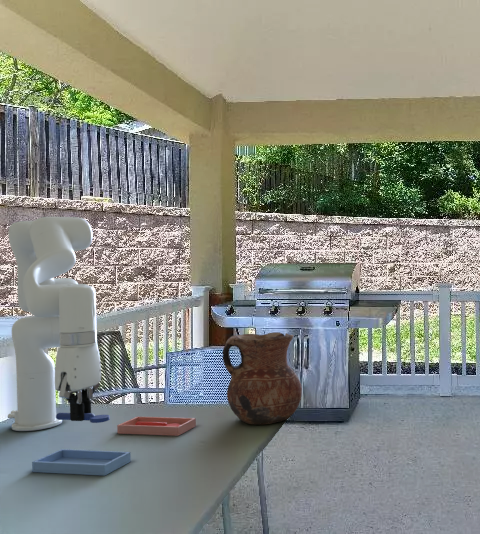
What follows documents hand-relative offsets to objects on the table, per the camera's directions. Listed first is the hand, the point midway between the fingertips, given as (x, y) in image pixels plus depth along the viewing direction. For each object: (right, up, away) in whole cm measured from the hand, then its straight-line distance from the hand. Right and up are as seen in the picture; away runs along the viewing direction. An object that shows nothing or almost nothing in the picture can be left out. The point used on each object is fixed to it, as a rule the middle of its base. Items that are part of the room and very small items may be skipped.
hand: (80, 418), depth 139 cm
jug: (+34, -10, +38) cm, 52 cm away
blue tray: (+1, -11, 0) cm, 11 cm away
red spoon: (+6, -10, +29) cm, 31 cm away
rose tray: (+6, -10, +29) cm, 32 cm away
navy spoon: (0, 0, 0) cm, 0 cm away
